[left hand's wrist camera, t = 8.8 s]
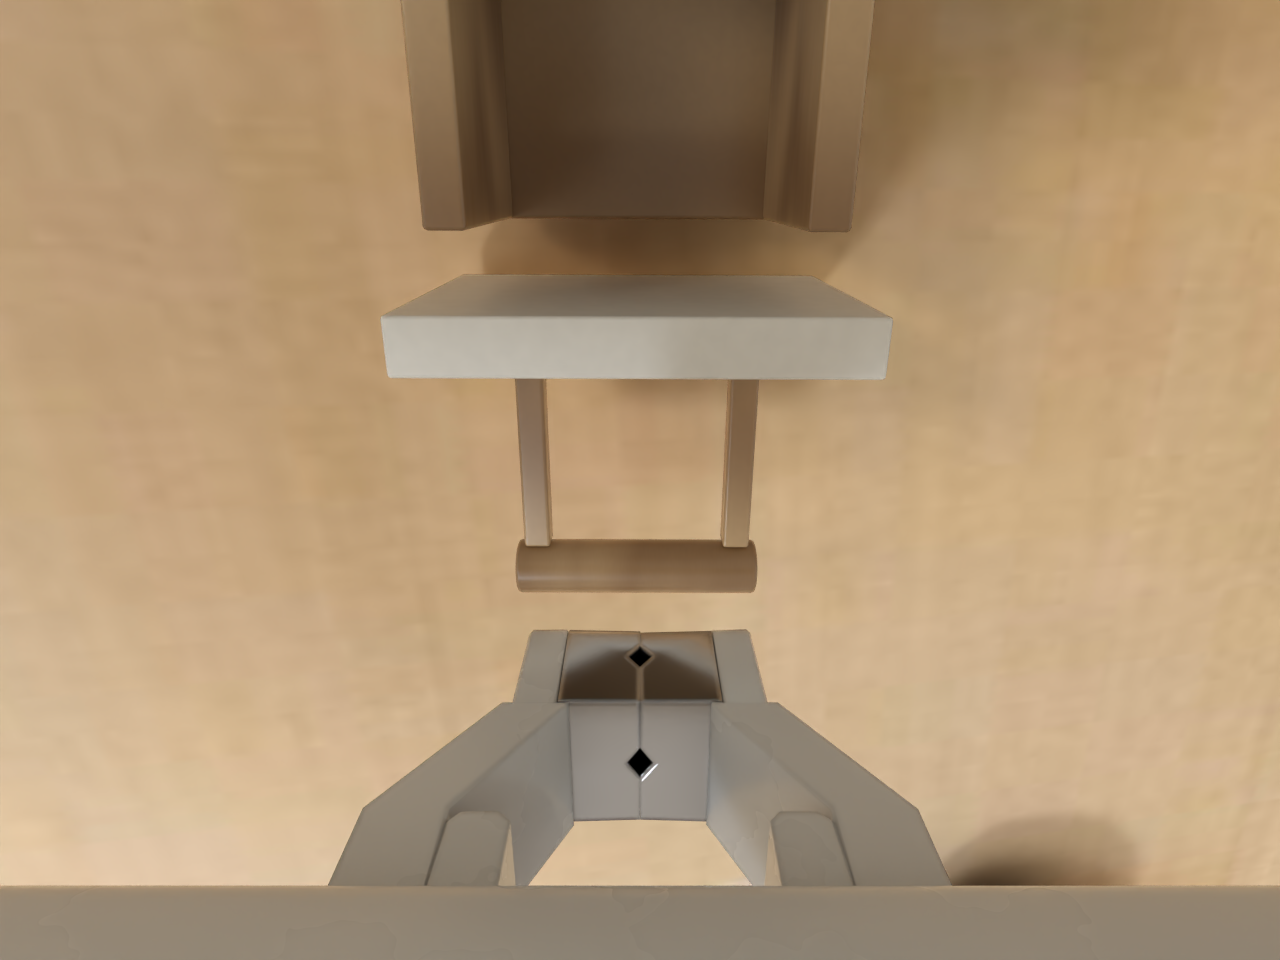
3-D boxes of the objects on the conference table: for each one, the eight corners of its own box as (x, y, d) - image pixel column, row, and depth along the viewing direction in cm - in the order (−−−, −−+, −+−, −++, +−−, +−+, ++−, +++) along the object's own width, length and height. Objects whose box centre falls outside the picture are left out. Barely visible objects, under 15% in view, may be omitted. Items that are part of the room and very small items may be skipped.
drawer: (793, 506, 23) (854, 631, 16) (480, 504, 23) (418, 630, 16) (901, -719, 14) (1132, -1520, 7) (378, -723, 14) (147, -1529, 7)
